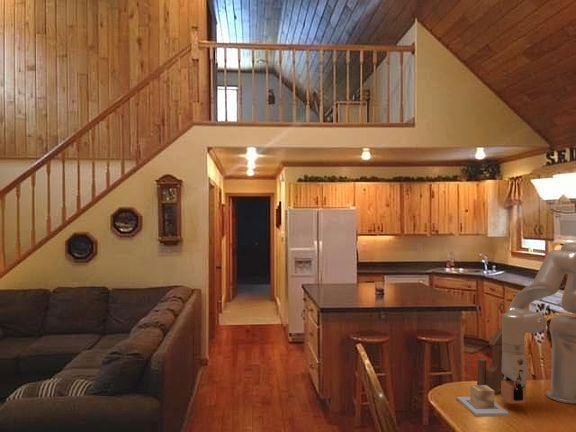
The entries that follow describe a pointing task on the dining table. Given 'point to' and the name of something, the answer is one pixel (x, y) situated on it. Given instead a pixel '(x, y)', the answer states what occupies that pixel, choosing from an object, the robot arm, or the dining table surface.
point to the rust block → (511, 392)
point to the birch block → (482, 396)
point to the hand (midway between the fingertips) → (513, 396)
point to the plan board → (482, 411)
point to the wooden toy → (492, 365)
